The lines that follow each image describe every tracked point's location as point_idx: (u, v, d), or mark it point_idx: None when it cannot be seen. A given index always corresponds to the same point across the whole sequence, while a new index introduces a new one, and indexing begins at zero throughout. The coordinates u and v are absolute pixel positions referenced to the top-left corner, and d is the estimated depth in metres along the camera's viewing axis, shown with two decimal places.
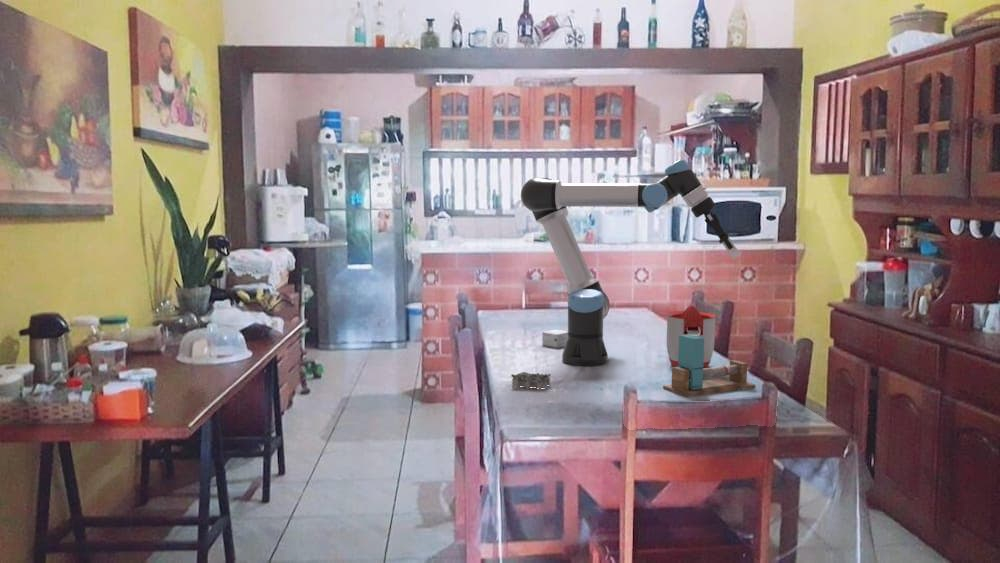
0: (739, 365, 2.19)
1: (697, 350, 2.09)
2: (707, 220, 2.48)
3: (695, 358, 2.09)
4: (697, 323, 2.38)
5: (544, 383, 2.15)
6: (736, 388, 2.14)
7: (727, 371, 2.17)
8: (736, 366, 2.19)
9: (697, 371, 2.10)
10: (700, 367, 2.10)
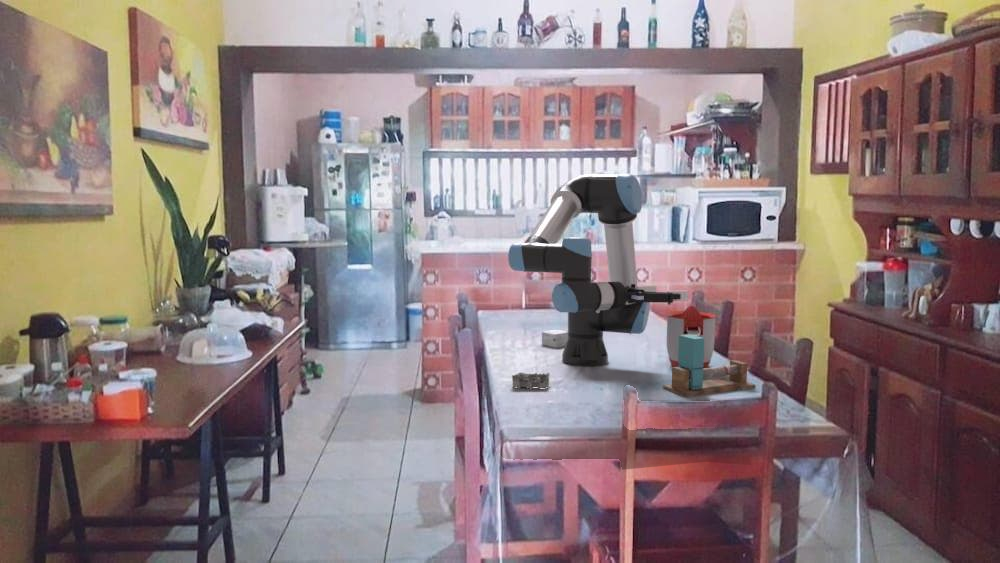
0: (739, 365, 2.19)
1: (697, 350, 2.09)
2: None
3: (695, 358, 2.09)
4: (697, 323, 2.38)
5: (546, 383, 2.15)
6: (736, 388, 2.14)
7: (727, 371, 2.17)
8: (736, 366, 2.19)
9: (697, 371, 2.10)
10: (700, 367, 2.10)
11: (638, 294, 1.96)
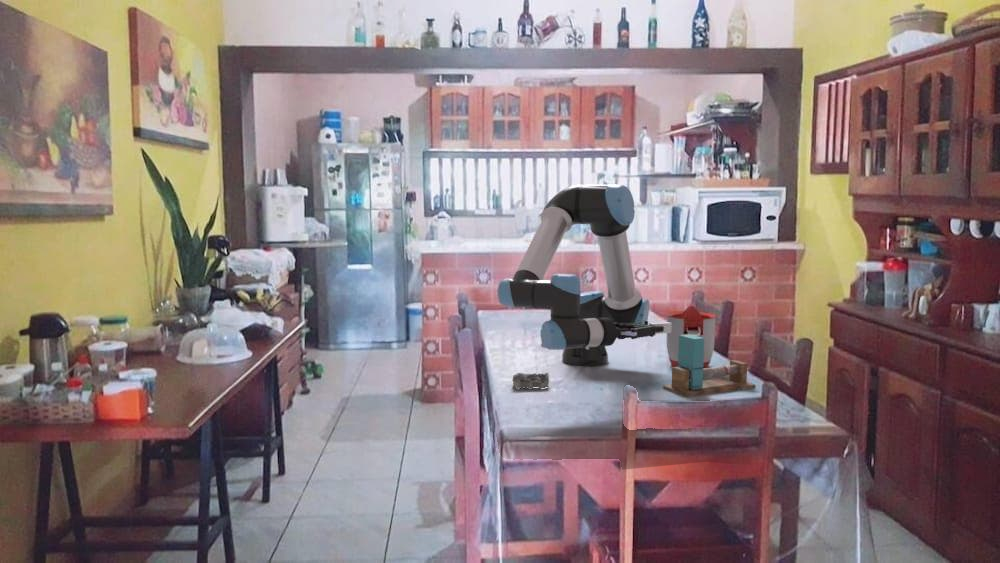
0: (739, 365, 2.19)
1: (697, 350, 2.09)
2: None
3: (695, 358, 2.09)
4: (697, 323, 2.38)
5: (547, 382, 2.16)
6: (736, 388, 2.14)
7: (727, 371, 2.17)
8: (736, 366, 2.19)
9: (697, 371, 2.10)
10: (700, 367, 2.10)
11: (634, 330, 1.96)
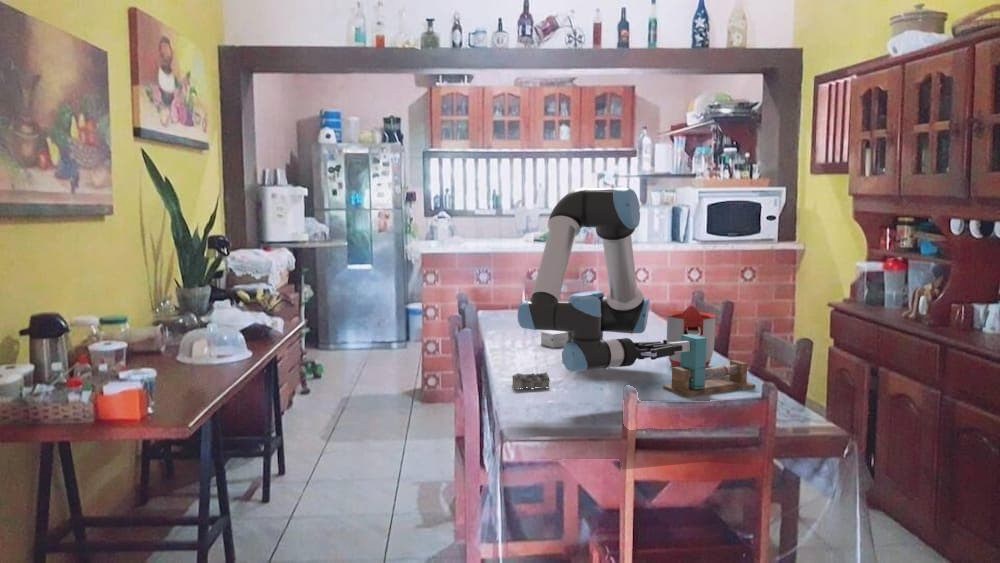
0: (739, 365, 2.19)
1: (700, 349, 2.10)
2: None
3: (697, 358, 2.10)
4: (697, 323, 2.38)
5: (547, 382, 2.16)
6: (736, 388, 2.14)
7: (727, 371, 2.17)
8: (736, 366, 2.19)
9: (700, 370, 2.10)
10: (702, 367, 2.11)
11: (654, 351, 1.99)
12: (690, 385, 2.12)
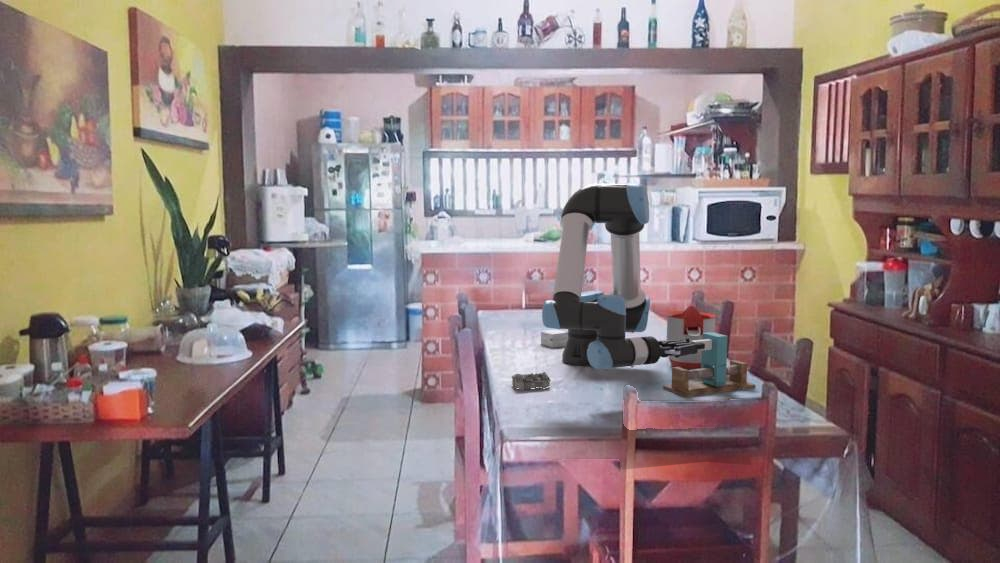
0: (739, 365, 2.19)
1: (721, 347, 2.13)
2: None
3: (718, 356, 2.13)
4: (697, 323, 2.38)
5: None
6: (736, 388, 2.14)
7: (727, 371, 2.17)
8: (736, 366, 2.19)
9: (721, 368, 2.13)
10: (723, 364, 2.14)
11: (678, 349, 2.02)
12: (711, 382, 2.15)
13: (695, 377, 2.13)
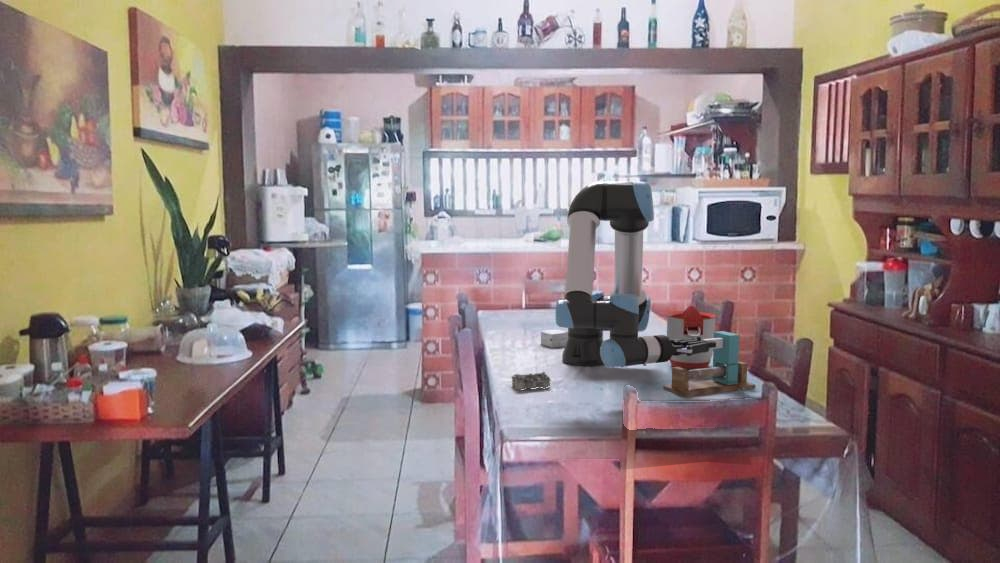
0: (739, 365, 2.19)
1: (733, 346, 2.14)
2: None
3: (730, 354, 2.14)
4: (697, 323, 2.38)
5: None
6: (736, 388, 2.14)
7: None
8: None
9: (732, 366, 2.15)
10: (735, 363, 2.15)
11: (690, 348, 2.04)
12: (723, 381, 2.17)
13: (695, 377, 2.13)
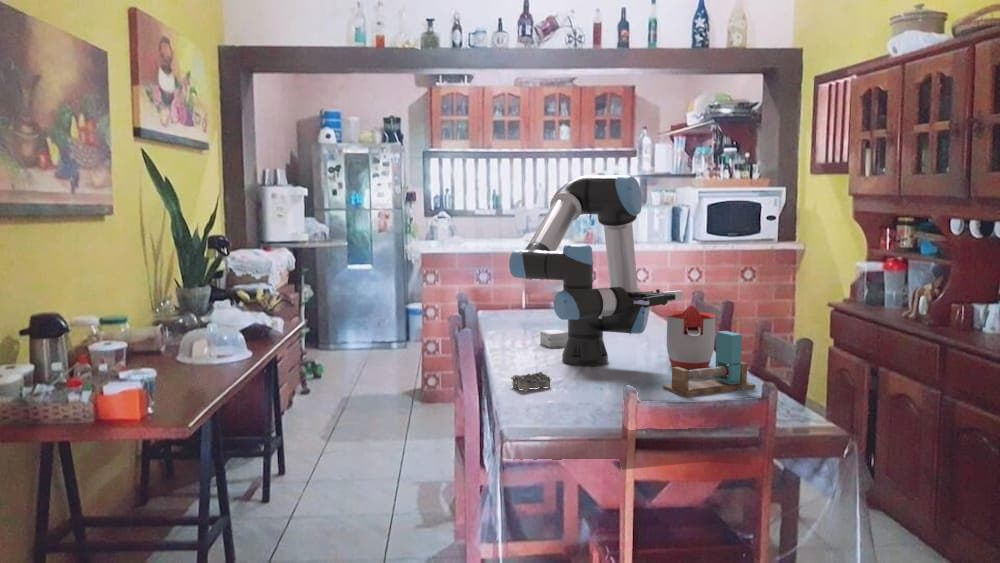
0: None
1: (735, 346, 2.15)
2: None
3: (733, 354, 2.15)
4: (697, 323, 2.38)
5: None
6: (736, 388, 2.14)
7: (727, 371, 2.17)
8: None
9: (735, 366, 2.16)
10: (738, 363, 2.16)
11: (647, 299, 1.97)
12: (726, 380, 2.17)
13: (695, 377, 2.13)
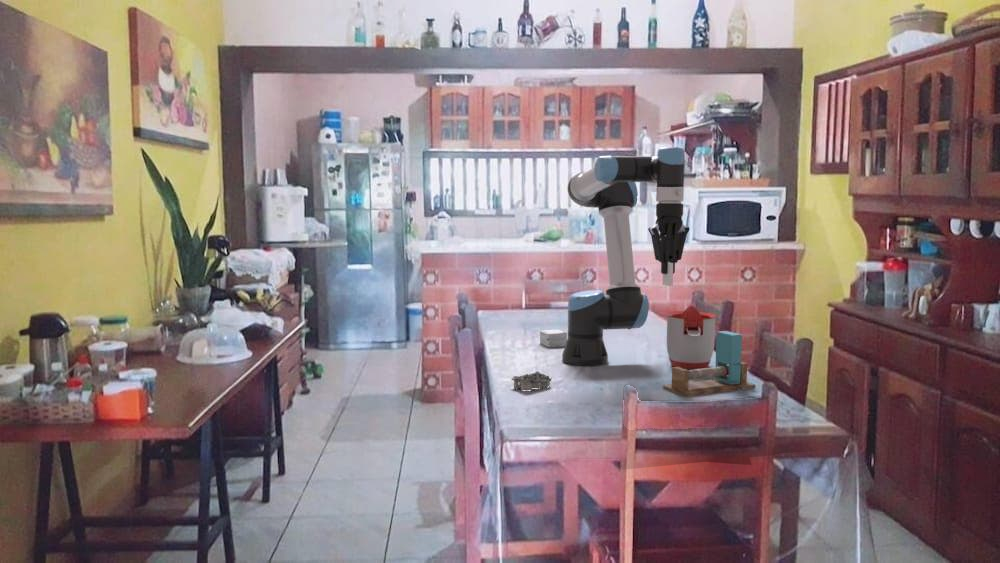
0: None
1: (735, 346, 2.15)
2: None
3: (733, 354, 2.15)
4: (697, 323, 2.38)
5: (549, 380, 2.18)
6: (736, 388, 2.14)
7: (727, 371, 2.17)
8: None
9: (735, 366, 2.16)
10: (738, 363, 2.16)
11: None
12: (726, 380, 2.17)
13: (695, 377, 2.13)
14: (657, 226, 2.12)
